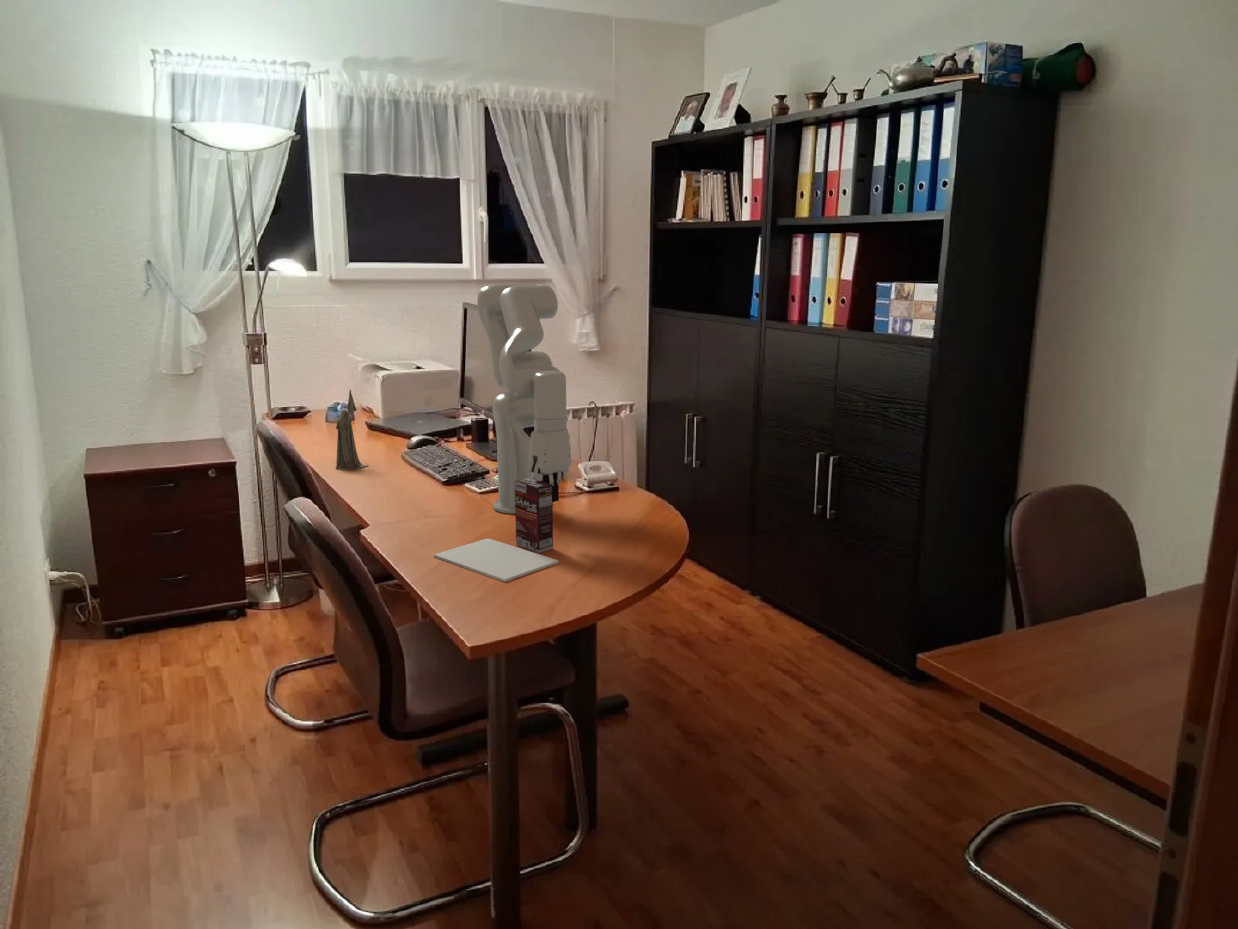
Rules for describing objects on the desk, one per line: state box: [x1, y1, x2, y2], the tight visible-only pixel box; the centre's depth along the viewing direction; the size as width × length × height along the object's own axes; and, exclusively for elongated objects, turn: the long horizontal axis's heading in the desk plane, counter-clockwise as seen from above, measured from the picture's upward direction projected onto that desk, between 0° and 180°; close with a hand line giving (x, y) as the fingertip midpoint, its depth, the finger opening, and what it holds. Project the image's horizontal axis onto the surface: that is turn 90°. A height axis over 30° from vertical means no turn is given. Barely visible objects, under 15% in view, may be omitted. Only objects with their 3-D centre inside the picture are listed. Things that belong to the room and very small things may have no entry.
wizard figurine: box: [335, 389, 369, 471], centre depth 286 cm, size 10×8×25 cm
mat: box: [433, 537, 560, 583], centre depth 202 cm, size 16×24×1 cm, turn 49°
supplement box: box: [515, 478, 554, 554], centre depth 209 cm, size 9×5×16 cm, turn 45°
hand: (551, 500), depth 212 cm, fingers closed
